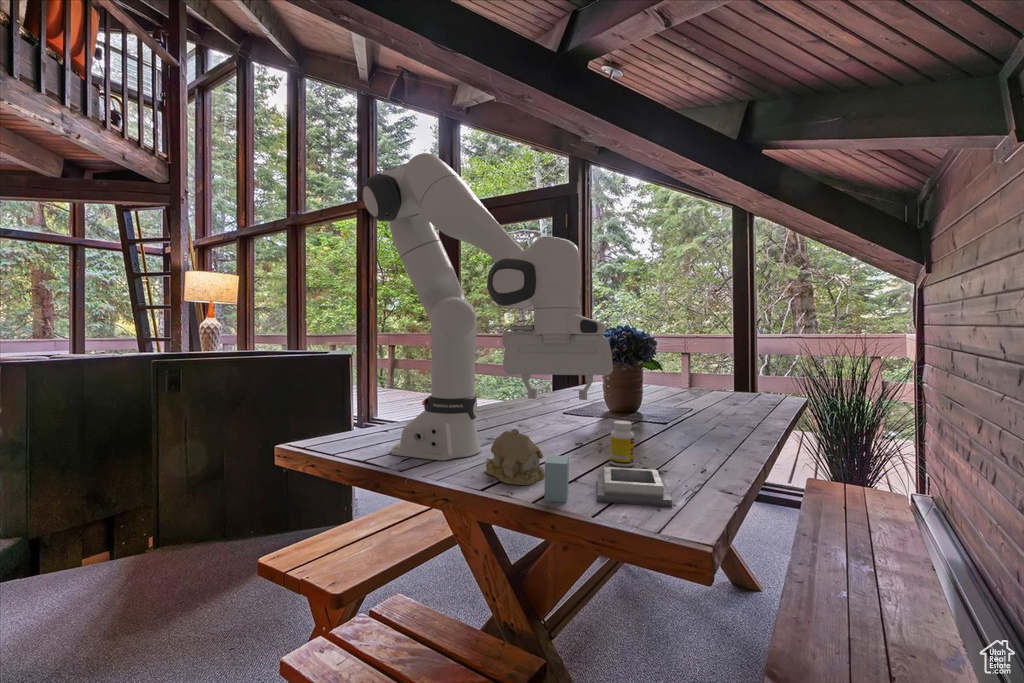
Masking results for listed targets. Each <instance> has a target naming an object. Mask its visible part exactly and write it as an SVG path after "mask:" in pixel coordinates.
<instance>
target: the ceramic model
mask: <svg viewBox="0 0 1024 683" xmlns="http://www.w3.org/2000/svg"><path fill="white" fill-rule="evenodd" d="M490 453H492V454H493V458H489V459H487V460H486V464H485V466H486V473H487V474H488V475H489V476H493V477H494V478H496V479H497V480H499V481H500V482H503V483H505V484H507V485H508V484H510V485H520V486H529V485H533V484H534V483H536V482H538V481H541V480H543V479H545V467H542V466H540V461H541V460H542V459H544V456H543V452H542V451H541V449H540V448H539V446H538V445H537V444H535V442H534V441H532V439H531V438H530V437H529V435H527V434H524V433H520V431H519V429H517V428H512V429H511V431H510V430H506V431H503V432H502V433H501V434H500V435H499V436H497V437H496V438H495V440H493V443H492V445H491V448H490Z"/></svg>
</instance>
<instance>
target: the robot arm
mask: <svg viewBox="0 0 1024 683" xmlns="http://www.w3.org/2000/svg"><path fill="white" fill-rule="evenodd" d="M361 191H362V198H363V202H364V206H365V208H366V210H367V211H368V213H369V214H370V215H371V217H372V218H373V219H375V220H377V221H378V222H388V223H389V224H388V225H389V229H390V234H391V237H392V239H393V244H394V246H395V248H396V252H397V254H398V257H399V259H400V260H401V263H402V265H403V267H404V268H405V271H406V273H407V276H408V277H409V280H410V282H411V284H412V286H413V288H414V290H415V292H416V294H417V296H418V298H419V301H420V303H421V305H422V308H423V309H424V311H425V313H426V316H427V318H428V320H429V321H430V329H431V330H430V331H431V332H430V338H431V340H430V341H431V342H430V345H431V346H430V349H431V352H430V354H431V359H430V360H431V362H430V363H431V370H430V371H431V376H430V377H431V382H430V383H431V386H430V387H431V392H430V393H431V395H428V396H427V397H426V398H425V399H423V400H422V403H421V405H422V406H423V408H424V410H423V411H422V412H420V413H419V414H418V415H416V416H415V418H413V419H412V420H410V421H409V422H408V423H406V425H405V426H404V428H402V432H401V437H400V442H398V443H396V444H395V445H394V446H393V447H392V448H391V451H390V452H391V453H390V454H391V455H392V456H400V457H409V458H417V459H427V460H434V461H447V460H452V459H458V458H465V457H471V456H475V455H478V454H479V453H480V452H482V448H481V445H480V440H479V436H478V429H477V421H476V420H477V419H476V418H477V415H478V401H477V400H478V399H477V395H476V359H477V358H476V357H477V356H476V354H477V353H476V352H477V335H478V334H477V330H478V328H477V326H478V319H477V312H476V309H475V308H474V306H473V305H472V304H471V303H470V301H468V299H467V297H466V296H465V293H464V291H463V288H462V286H461V284H460V281H459V279H458V277H457V274H456V270H455V268H454V266H453V264H452V262H451V260H450V257H449V256H448V253H447V251H446V249H445V246H444V245H443V242H442V240H441V238H440V236H439V233H438V232H437V230H436V229H438V231H440V232H441V233H442V234H444V235H446V236H448V237H450V238H453V239H455V240H458V241H460V242H464V243H467V244H469V245H472V247H476V248H477V249H479V250H481V251H483V252H484V253H486V254H487V255H488V256H489V257H490V258H491V259H492V260H493V261H494V262H495V263H494V264H493V265H492V267H490V270H489V272H488V274H487V279H486V280H487V281H486V285H487V286H486V287H487V292H488V295H489V296H490V298H491V300H492V301H493V302H494V303H496V304H497V305H499V306H501V307H504V308H509V309H510V308H511V309H516V310H517V309H518V310H527V311H531V312H533V324H525V325H517V324H513V325H510V326H509V327H507V328H505V329H504V331H503V332H502V345H503V347H504V352H503V353H504V354H503V362H502V363H503V366H502V368H503V371H504V373H506V374H507V375H521V381H522V384H524V387H525V388H526V390H527V398H528V399H529V400H530V399H531V400H536V399H537V398H538V395H537V392H538V388H533V386H532V385H531V383H530V381H531V379H532V375H535V376H536V375H543V376H544V375H545V376H546V375H547V376H549V375H550V376H551V375H552V376H554V375H555V376H556V375H557V376H558V375H559V376H584V379H585V382H587V383H586V384H585V386H584V388H583V389H579V390H578V395H579V396H578V400H579V401H587V400H588V391H589V389H590V388H591V386H592V384H593V382H594V376H609V375H610V374H612V372H613V370H614V369H613V367H614V366H613V365H614V364H613V356H612V350H611V345H610V344H611V343H610V341H609V339H608V337H606V336H605V335H603V334H605V332H606V330H607V329H606V324H605V323H604V322H602V321H599V320H597V319H596V320H595V319H593V318H591V317H590V316H586V317H585V316H583V315H582V304H581V301H580V291H581V288H582V268H581V265H582V264H581V258H580V257H581V256H580V251H579V248H578V246H577V245H576V243H574V242H573V241H571V240H570V239H566V238H562V237H555V236H541V237H538V238H537V239H536V240H535V241H534V242H533V244H532V245H530V246H529V247H527V248H526V249H524V248H523V246H521V244H520V243H519V242H518V241H516V239H515V238H514V237H513V236H512V235H511V234H510V233H509V232H508V231H507V230H506V229H505V228H504V227H503V226H502V225H501V224H500V222H498V221H497V219H495V217H494V216H493V215H492V213H491V212H490V211H489V210H488V208H486V207H485V205H484V204H483V202H482V201H481V200H480V199H479V197H477V195H476V194H475V192H474V191H473V190H472V189H471V187H469V185H468V184H467V183H466V182H465V180H464V179H463V178H462V177H461V175H459V174H458V173H457V172H456V171H455V170H454V169H453V168H452V167H451V166H450V165H449V164H448V163H446V162H445V161H444V160H442V159H441V158H439V157H438V156H436V155H434V154H433V153H428V152H427V153H425V152H423V153H419V154H416V155H414V156H413V157H411V159H409V161H408V162H407V163H406V164H404V165H401V166H400V167H396V168H393V169H389V170H388V171H384V172H379V173H375V174H373V175H371V176H370V177H368V178H366V179H365V180H364V183H363V185H362V189H361ZM528 399H527V400H528Z"/></svg>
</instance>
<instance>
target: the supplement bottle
mask: <svg viewBox="0 0 1024 683" xmlns="http://www.w3.org/2000/svg"><path fill="white" fill-rule="evenodd" d="M613 428H614V430H613V431H612V430H611V432H610V451H609V454H610V455H609V463H610V464H612V465H613V466H614V467H615V466H616V467H621V468H629V467H631V466H633V465H634V464H635V463H634V459H635V434H634V432H633V431H631V429H632V422H631V421H626V420H616V421H615V420H614V422H613Z"/></svg>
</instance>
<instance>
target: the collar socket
mask: <svg viewBox="0 0 1024 683" xmlns="http://www.w3.org/2000/svg"><path fill="white" fill-rule="evenodd" d="M603 468H604V469H603V472H604V473H603V474H600V473H599V474H597V493H596V494H597V499H596V500H597V501H596V502H597V503H598V502H599V503H610V504H611V503H612V504H626V505H641V506H642V505H643V506H653V507H654V506H655V507H656V506H658V507H671V508H672V507H673V499H672V496H671V494H670V492H669V490H668V488H667V485H666V482H665V480H664V478H663V477H660V474H659V471H658V470H657V469H650V468H636V467H635V468H632V467H618V466H616V467H615V466H603Z"/></svg>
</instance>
